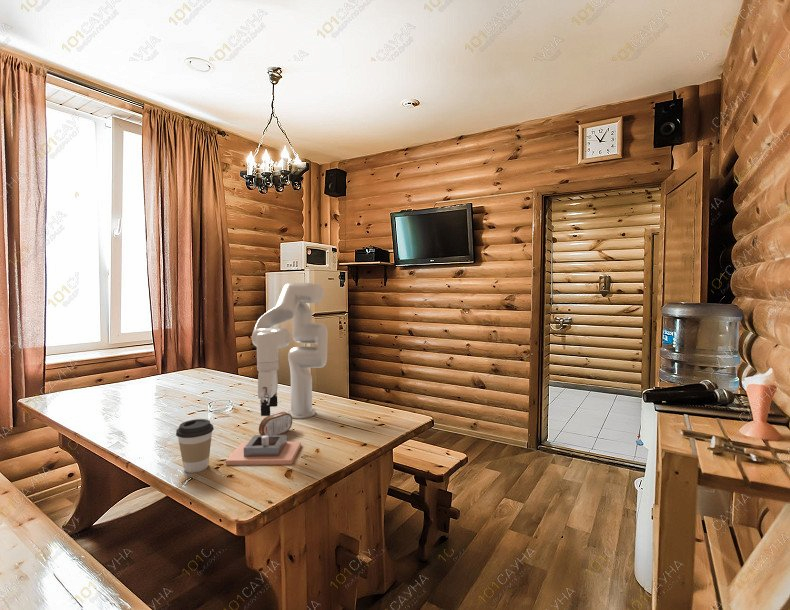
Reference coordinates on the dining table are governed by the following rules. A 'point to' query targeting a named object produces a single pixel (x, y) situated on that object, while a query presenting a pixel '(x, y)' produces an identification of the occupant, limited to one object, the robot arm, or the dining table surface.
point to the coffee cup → (195, 444)
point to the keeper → (283, 458)
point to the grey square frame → (265, 451)
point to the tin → (275, 424)
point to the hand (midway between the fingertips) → (269, 410)
